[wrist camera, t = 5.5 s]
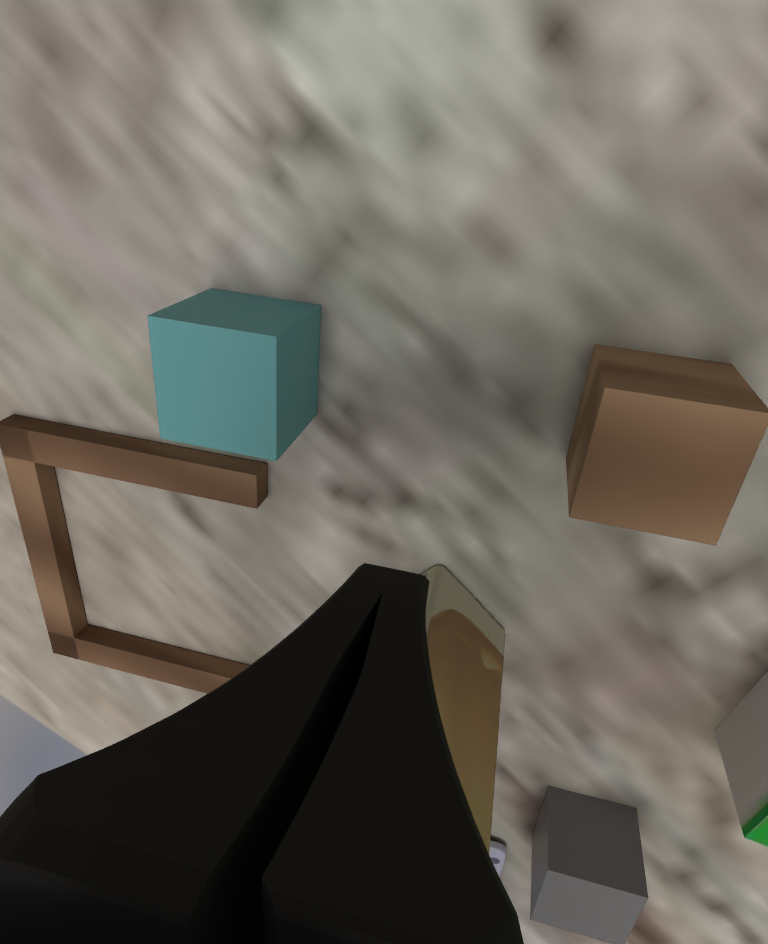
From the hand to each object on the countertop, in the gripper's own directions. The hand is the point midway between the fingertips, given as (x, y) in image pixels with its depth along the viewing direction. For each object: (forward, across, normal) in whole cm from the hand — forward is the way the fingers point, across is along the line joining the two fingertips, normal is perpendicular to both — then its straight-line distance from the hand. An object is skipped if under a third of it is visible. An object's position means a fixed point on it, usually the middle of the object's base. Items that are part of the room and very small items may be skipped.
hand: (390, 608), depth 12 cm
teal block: (+10, +7, -1) cm, 13 cm away
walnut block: (+10, -6, -1) cm, 12 cm away
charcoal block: (+10, -9, +20) cm, 24 cm away
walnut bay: (+10, +12, +10) cm, 19 cm away
